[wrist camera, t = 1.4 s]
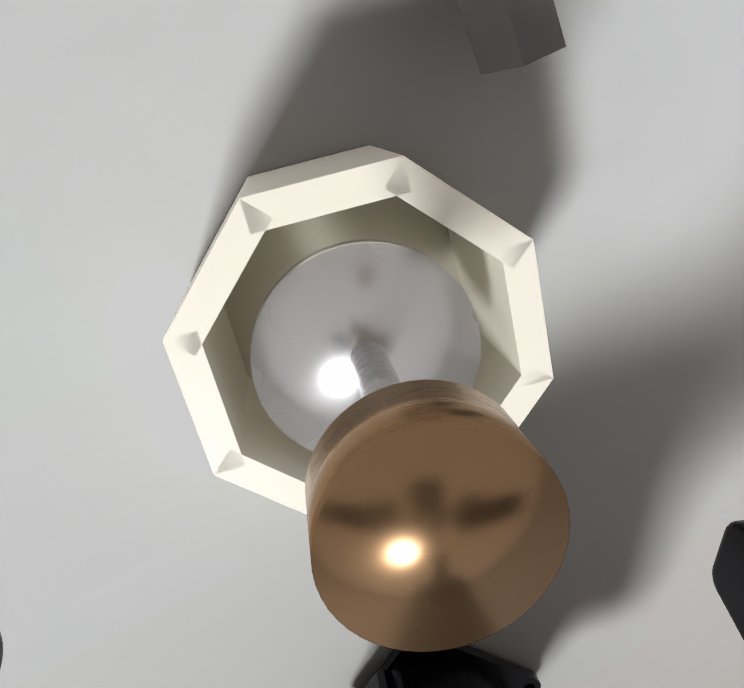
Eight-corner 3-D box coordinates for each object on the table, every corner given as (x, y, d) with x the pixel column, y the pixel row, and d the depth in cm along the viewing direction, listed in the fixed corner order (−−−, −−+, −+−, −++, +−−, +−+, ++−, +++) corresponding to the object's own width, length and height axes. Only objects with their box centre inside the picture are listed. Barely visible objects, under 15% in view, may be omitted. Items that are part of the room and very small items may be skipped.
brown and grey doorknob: (517, 309, 16) (715, 466, 9) (400, 483, 17) (491, 745, 10) (325, 194, 15) (378, 270, 7) (210, 394, 16) (157, 631, 8)
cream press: (575, 277, 21) (665, 325, 16) (429, 489, 23) (470, 590, 18) (291, 95, 18) (298, 87, 13) (149, 358, 20) (110, 436, 15)
